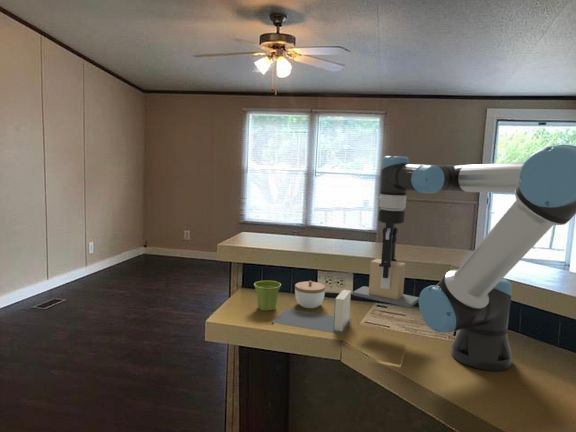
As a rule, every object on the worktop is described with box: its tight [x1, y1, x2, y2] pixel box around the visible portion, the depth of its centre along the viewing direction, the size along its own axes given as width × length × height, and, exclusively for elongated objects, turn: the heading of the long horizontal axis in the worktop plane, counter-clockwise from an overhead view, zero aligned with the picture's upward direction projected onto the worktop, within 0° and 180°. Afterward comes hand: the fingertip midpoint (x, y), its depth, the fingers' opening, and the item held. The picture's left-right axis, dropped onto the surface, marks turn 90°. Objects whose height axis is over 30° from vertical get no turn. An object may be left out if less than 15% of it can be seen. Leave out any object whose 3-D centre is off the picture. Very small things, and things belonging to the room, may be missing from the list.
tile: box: [333, 289, 352, 331], centre depth 141 cm, size 3×10×10 cm, turn 160°
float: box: [352, 258, 419, 309], centre depth 135 cm, size 18×8×11 cm, turn 57°
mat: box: [271, 308, 353, 335], centre depth 144 cm, size 23×14×1 cm, turn 70°
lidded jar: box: [294, 280, 326, 309], centre depth 159 cm, size 11×11×9 cm
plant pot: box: [253, 280, 282, 312], centre depth 156 cm, size 9×9×9 cm
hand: (386, 285), depth 135 cm, fingers closed on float, 6 cm apart
